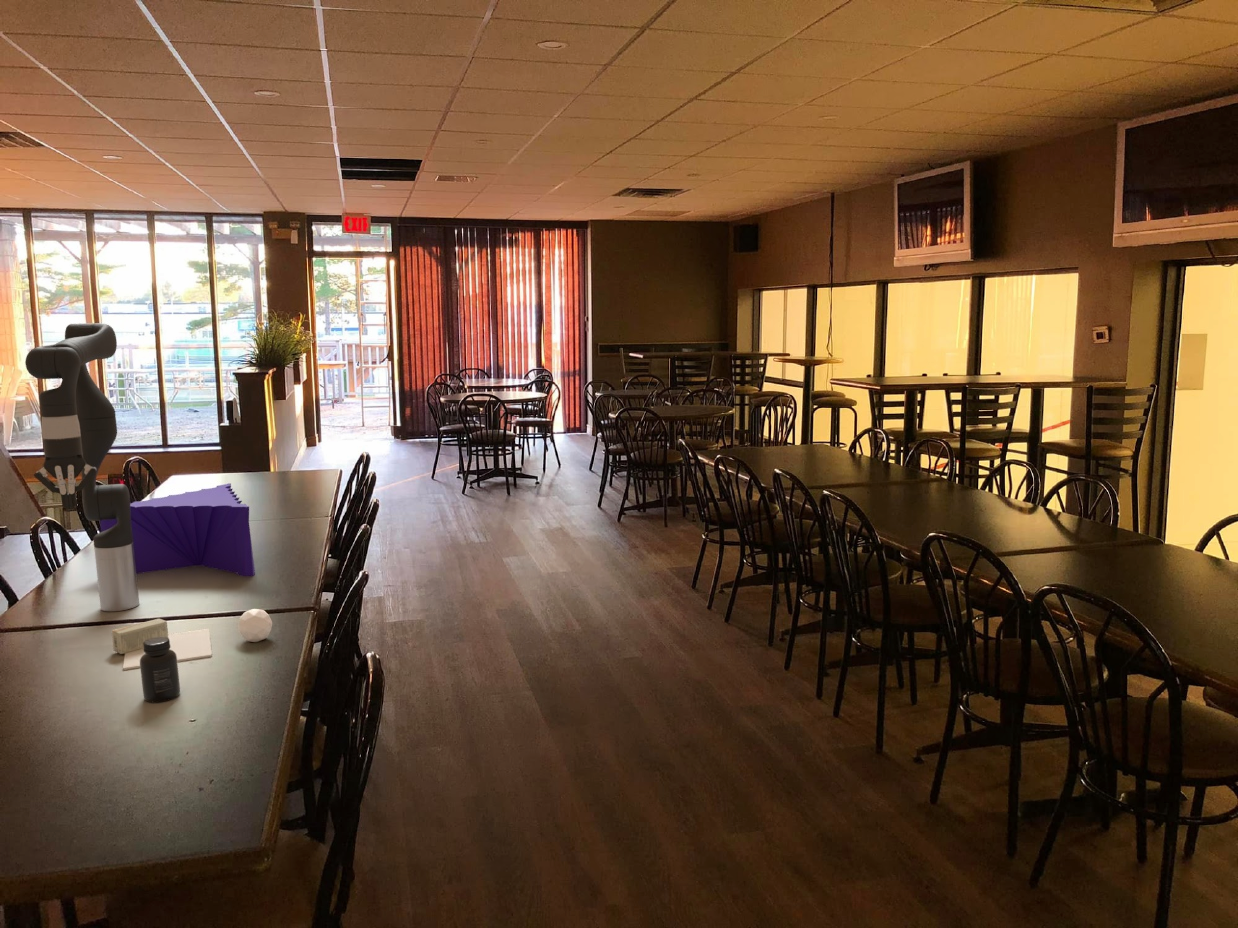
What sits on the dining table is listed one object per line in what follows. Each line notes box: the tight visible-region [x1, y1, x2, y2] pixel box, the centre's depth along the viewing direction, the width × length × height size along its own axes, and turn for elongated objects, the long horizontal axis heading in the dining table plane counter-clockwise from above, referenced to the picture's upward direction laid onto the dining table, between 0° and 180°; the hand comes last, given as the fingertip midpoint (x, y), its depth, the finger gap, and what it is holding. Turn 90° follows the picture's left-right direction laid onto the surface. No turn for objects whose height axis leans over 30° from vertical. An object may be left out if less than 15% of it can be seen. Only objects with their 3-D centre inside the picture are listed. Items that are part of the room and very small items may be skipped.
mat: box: [122, 628, 213, 671], centre depth 219 cm, size 20×18×1 cm
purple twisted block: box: [99, 483, 256, 578], centre depth 297 cm, size 40×45×21 cm
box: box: [111, 618, 169, 655], centre depth 220 cm, size 5×4×11 cm
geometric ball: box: [236, 608, 273, 643], centre depth 224 cm, size 8×8×8 cm
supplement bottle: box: [139, 637, 181, 703], centre depth 191 cm, size 7×7×12 cm
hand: (69, 509), depth 217 cm, fingers closed
